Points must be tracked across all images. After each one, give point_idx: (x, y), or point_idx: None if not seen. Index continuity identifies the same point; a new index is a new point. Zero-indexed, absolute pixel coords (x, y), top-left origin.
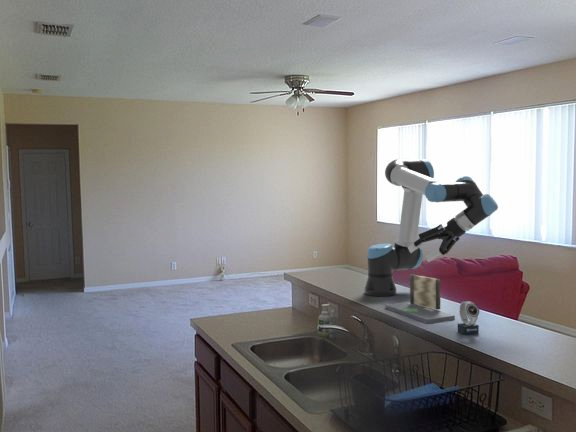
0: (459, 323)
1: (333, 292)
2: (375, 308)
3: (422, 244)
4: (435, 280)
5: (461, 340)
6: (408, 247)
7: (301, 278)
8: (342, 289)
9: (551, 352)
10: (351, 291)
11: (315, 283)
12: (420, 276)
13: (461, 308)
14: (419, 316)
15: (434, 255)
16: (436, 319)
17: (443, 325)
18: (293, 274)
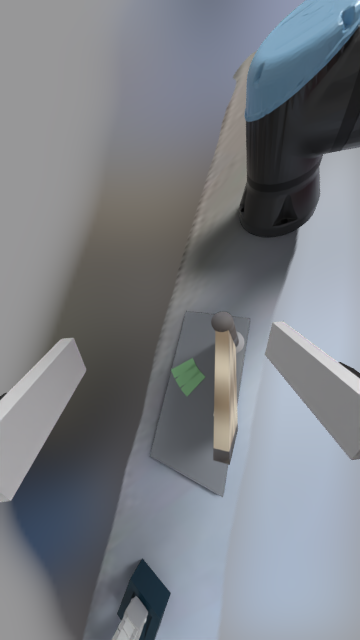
0: (131, 585)
1: (207, 184)
2: (175, 304)
3: (14, 481)
4: (214, 445)
5: (99, 600)
6: (59, 345)
7: (239, 88)
8: (236, 166)
9: None
10: (237, 183)
11: (231, 122)
12: (219, 358)
13: (123, 628)
14: (159, 426)
15: (307, 392)
16: (172, 467)
17: (164, 495)
18: (249, 62)
